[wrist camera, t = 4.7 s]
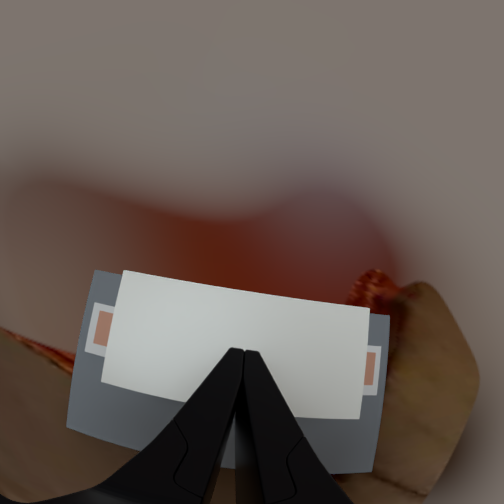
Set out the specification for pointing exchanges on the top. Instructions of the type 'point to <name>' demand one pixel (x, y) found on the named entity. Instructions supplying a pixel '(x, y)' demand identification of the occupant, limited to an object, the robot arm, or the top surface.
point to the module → (236, 342)
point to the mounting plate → (163, 410)
